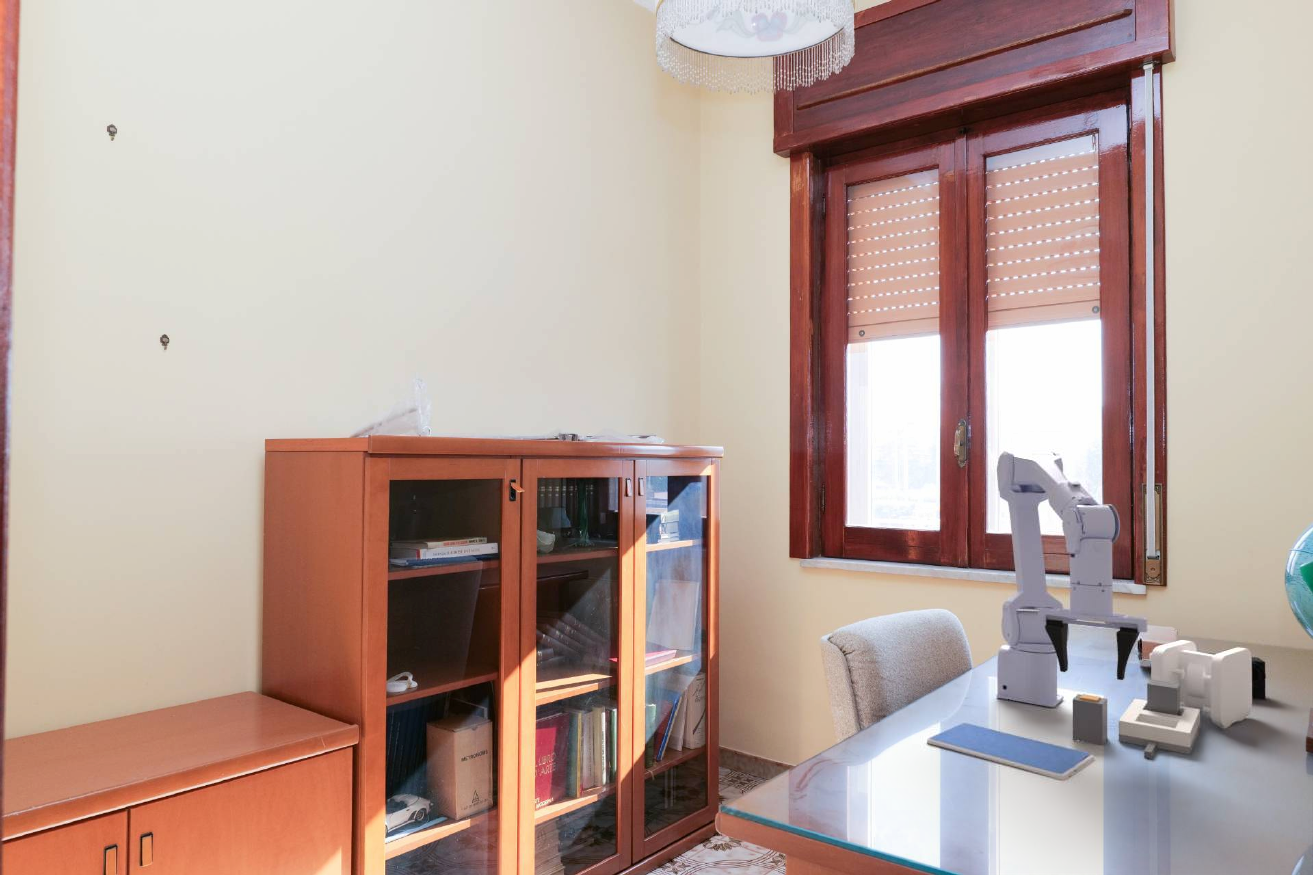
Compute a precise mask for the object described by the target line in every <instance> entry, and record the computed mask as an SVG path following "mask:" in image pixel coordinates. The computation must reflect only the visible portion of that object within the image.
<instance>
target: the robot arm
mask: <svg viewBox="0 0 1313 875" xmlns="http://www.w3.org/2000/svg"><path fill="white" fill-rule="evenodd" d="M996 476H997V477H996V478H997V487H998V492H999V498H1001V499H1003V500H1004V501H1006V503H1007V505H1008V511H1009V520H1010V528H1011V530H1010V531H1011V540H1012V551H1013V562H1014V569H1015V570H1014V571H1015V582H1016V591H1017V592H1016V593H1015V594H1014V595H1012V596H1011V597H1009V598H1007V600H1006V601H1005V602H1004V603H1003V604H1002V619H1001V632H1002V637H1003V639H1004V641H1005V642H1006V644H1004V645H1001V646H1000V647H999V650H998V655H997V664H996V666H997V674H996V675H997V679H996V681H997V682H996V683H997V692H996V693H997V694H995V695H996V698H998V699H1003V700H1008V699H1009V700H1010V701H1014V702H1020V703H1021V702H1022V703H1027V704H1030V705H1032V704H1033V705H1037V706H1044V707H1048V708H1055V707H1056V706H1057V705H1058V704H1059V703H1060V702H1061V701H1062V700H1064V698H1065V697H1064V695H1062V694H1061V695H1060V694H1058V665H1059V671H1060V672H1062V673H1066V672H1068V668H1069V659H1068V658H1069V657H1068V641H1069V637H1070V627H1069V625H1076V626H1077V625H1078V626H1087V627H1088V626H1089V627H1098V628H1106V629H1107V628H1108V629H1116V630H1118V631H1116V632H1115V633H1116V648H1117V649H1116V650H1117V667H1116V679H1117V680H1119V681H1123V680H1124V679H1125V677H1126V676H1125V675H1126V669H1127V664H1128V661H1129V658H1130V655H1131V652H1132V650H1133V648H1134V646H1135V644H1136V642H1137V640H1138V637H1139V636H1140V634H1141V633H1147V632H1148V630H1149V629H1148V617H1141V616H1135V615H1134V616H1133V615H1126V614H1119V613H1114V611H1113V610H1114V609H1113V608H1114V605H1113V604H1114V602H1113V543H1115V542H1116V541H1117V540H1118V537H1119V535H1120V530H1121V529H1120V528H1121V521H1120V515H1119V514H1118V513H1119V512H1118V511H1117V509H1116V508H1115V507H1114V505H1113V504H1111V503H1110V504H1108V503H1107V504H1104V503H1100V504H1099V503H1098V501H1097V500H1095V499H1094V497H1092V495H1091V494H1090V493H1089V492H1088V491H1087V490H1086V489H1085V488H1084V487H1083V486H1082V484H1081V482H1079V481H1078V480H1068V479H1067V477H1066V475H1065V474H1064V464H1063V458H1062V457H1061V456H1060V454H1059V453H1058V452H1057V451H1049V452H1048V451H1047V452H1045V451H1044V452H1043V451H1040V452H1039V451H1010V450H1003V451H1002V452H1001V454H1000V455H999V457H998V460H997V465H996ZM1047 500H1048V504H1049V506H1050V507H1051V508H1052V510H1053V512H1054V513H1055V514H1056V515H1057V516H1058V517H1059V519H1060V520H1061V521H1062V522H1061V523H1062V524H1061V526H1062V532H1063V535H1064V537H1065V538H1064V539H1065V549H1066V552H1067V553H1069V607H1070V608H1069V609H1067V608H1066V609H1065V608H1064V605H1063V603H1062V602H1061V601H1060V600H1058V599H1057V598H1056V597H1054V596H1053V595H1051V594H1050V593H1049V592H1048V588H1047V579H1046V571H1045V570H1046V569H1045V568H1046V567H1045V561H1044V550H1043V543H1042V542H1043V541H1042V534H1041V523H1040V515H1039V505H1040V504H1041V503H1042V502H1045V501H1047ZM1101 622H1102V623H1101ZM1007 644H1008V645H1007Z"/></svg>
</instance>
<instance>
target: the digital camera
mask: <svg viewBox="0 0 1313 875" xmlns="http://www.w3.org/2000/svg"><path fill="white" fill-rule="evenodd" d="M1205 653H1206V654H1212V655H1215V654H1216V653H1210V652H1205ZM1251 657H1252V700H1261V701H1266V697H1267V696H1266V678H1267V677H1266V661H1264V660H1263V659H1261V658H1260V657H1256V656H1251Z"/></svg>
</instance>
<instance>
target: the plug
mask: <svg viewBox="0 0 1313 875" xmlns="http://www.w3.org/2000/svg"><path fill="white" fill-rule="evenodd" d="M1072 740H1073V741H1077V740H1079V741H1078V742H1082V741H1083V743H1087V742H1088V744H1093V745H1098V746H1103V745H1105V743H1106V742H1107V740H1108V698H1104V697H1101V696H1098V695H1092V694H1085V693H1084V694H1083V693H1082V694H1081V693H1080V694H1079V693H1078V694H1076V695H1075V697H1073V698H1072Z"/></svg>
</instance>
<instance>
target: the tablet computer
mask: <svg viewBox="0 0 1313 875" xmlns="http://www.w3.org/2000/svg"><path fill="white" fill-rule="evenodd" d="M926 743H927V744H930V745H933V746H936V747H940V748H944V749H948V750H951V751H954V752H957V753H963V754H965V755H970V756H972V757H976V758H980V759H982V760H983V759H984V760H988V761H991V762H996V763H998V764H1003V765H1006V766H1010V767H1013V768H1016V769H1020V770H1024V771H1027V772H1028V771H1029V772H1030V773H1035V774H1039V775H1042V776H1046V777H1048V778H1052V779H1056V780H1061V781H1062V780H1063V781H1064V780H1067V779H1069V778H1070V777H1071V776H1073V775H1074V774H1076V773H1077V772H1079V771H1080V770H1083V768H1085V767H1086V766H1088V765H1089V764H1091V763H1092V762H1094V761H1095V756H1094V755H1093V754H1091V753H1089V752H1086V751H1082V750H1077V749H1073V748H1068V747H1066V746H1060V745H1056V744H1053V743H1049V742H1044V741H1040V740H1036V739H1032V738H1028V737H1023V736H1019V735H1015V734H1011V733H1007V732H1003V731H999V730H995V729H992V728H987V727H984V726H981V725H980V726H979V725H975V724H972V723H967V722H962V723H959V724H957V725H955V726H953V727H950V728H948V729H946V730H944V731H942V732H939V733H937V734H935V735H933V736H930V737H928V738H927V739H926Z"/></svg>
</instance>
